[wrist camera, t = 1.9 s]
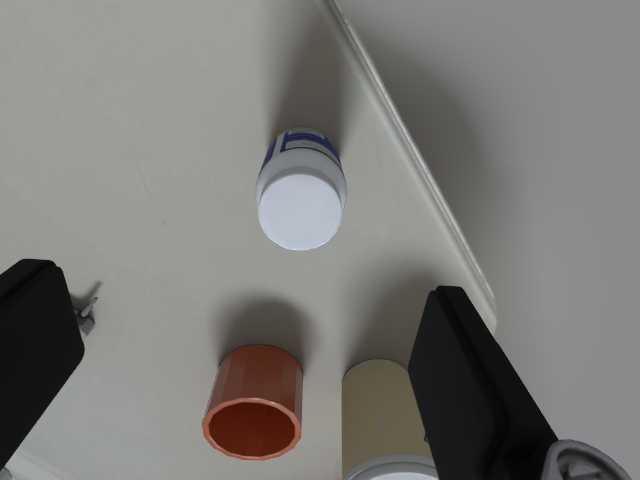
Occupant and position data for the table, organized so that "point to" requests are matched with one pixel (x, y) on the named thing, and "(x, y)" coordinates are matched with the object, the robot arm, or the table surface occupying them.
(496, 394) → the robot arm
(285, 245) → the pill bottle
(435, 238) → the table surface
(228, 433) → the pen cup
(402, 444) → the coffee cup
